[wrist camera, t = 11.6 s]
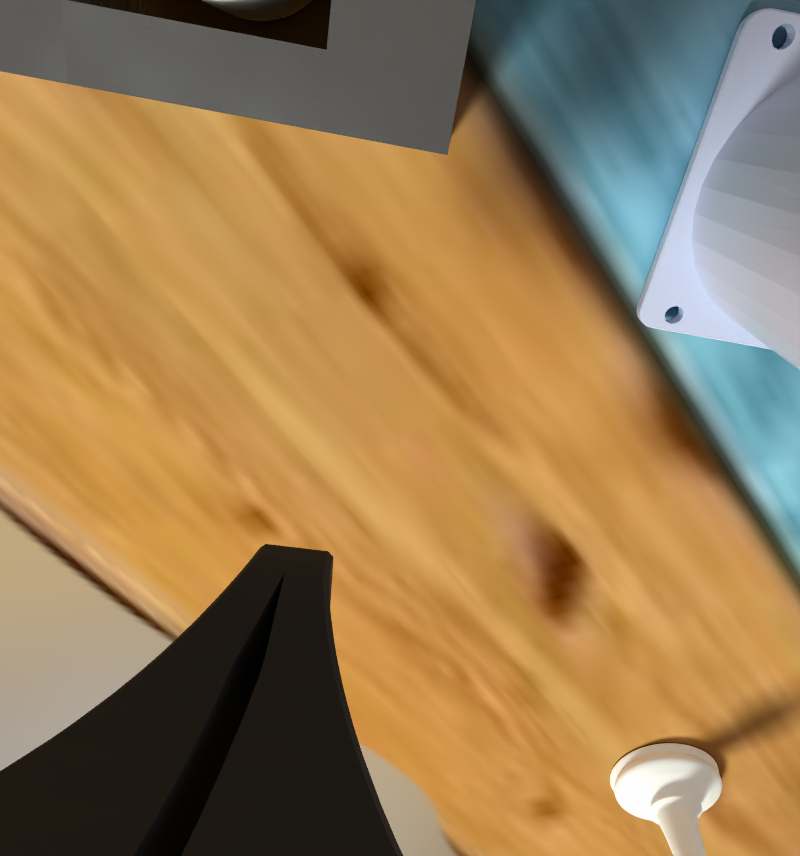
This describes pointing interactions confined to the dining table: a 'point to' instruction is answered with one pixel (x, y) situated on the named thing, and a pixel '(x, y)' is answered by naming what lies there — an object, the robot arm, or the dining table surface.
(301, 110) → the knob mount
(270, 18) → the knob
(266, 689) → the robot arm
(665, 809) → the chess piece
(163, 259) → the dining table surface
